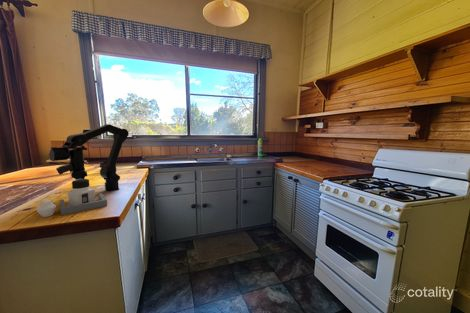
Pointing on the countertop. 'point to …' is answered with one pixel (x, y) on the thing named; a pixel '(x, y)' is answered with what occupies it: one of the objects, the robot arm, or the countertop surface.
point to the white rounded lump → (46, 208)
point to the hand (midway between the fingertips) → (79, 187)
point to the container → (81, 192)
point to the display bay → (83, 205)
